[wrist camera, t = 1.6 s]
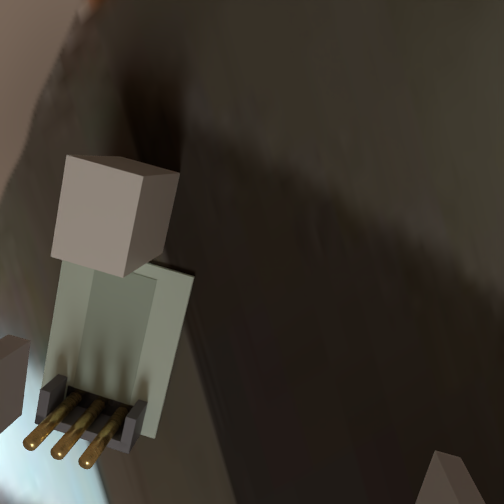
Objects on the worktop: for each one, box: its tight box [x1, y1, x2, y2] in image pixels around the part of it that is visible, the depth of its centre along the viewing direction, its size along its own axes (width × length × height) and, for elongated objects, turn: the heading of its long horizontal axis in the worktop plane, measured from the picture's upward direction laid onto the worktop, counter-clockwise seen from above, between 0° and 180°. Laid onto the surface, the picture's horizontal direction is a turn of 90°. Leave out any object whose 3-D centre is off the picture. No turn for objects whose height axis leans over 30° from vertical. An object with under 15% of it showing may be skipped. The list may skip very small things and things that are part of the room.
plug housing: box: [51, 155, 180, 278], centre depth 28 cm, size 6×4×7 cm
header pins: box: [23, 385, 133, 469], centre depth 32 cm, size 2×6×6 cm, turn 75°
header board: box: [35, 260, 195, 454], centre depth 32 cm, size 14×10×3 cm
